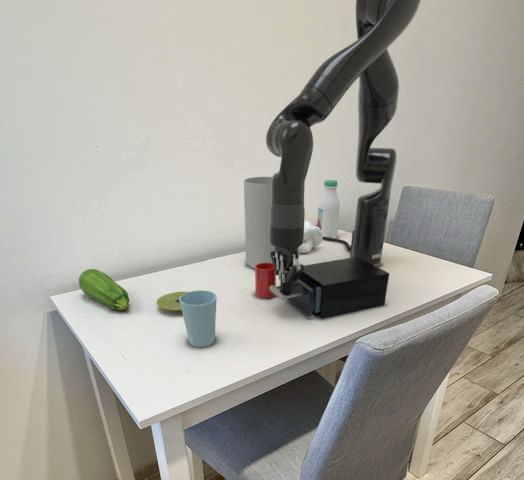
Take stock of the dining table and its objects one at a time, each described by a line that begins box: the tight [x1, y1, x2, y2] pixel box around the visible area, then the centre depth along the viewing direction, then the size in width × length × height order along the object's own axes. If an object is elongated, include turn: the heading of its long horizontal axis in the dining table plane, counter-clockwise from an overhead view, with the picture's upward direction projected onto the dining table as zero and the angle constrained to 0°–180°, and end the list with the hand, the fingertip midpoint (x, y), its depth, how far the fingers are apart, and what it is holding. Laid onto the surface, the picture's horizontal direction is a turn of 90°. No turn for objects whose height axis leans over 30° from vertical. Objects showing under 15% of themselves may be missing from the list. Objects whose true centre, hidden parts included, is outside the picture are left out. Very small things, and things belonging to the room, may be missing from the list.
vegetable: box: [78, 268, 130, 311], centre depth 108 cm, size 7×7×20 cm
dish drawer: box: [269, 273, 322, 318], centre depth 105 cm, size 23×12×7 cm, turn 114°
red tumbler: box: [254, 263, 277, 300], centre depth 112 cm, size 5×5×8 cm
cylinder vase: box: [243, 176, 275, 269], centre depth 128 cm, size 12×12×25 cm
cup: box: [179, 289, 218, 348], centre depth 90 cm, size 8×8×10 cm
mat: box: [156, 291, 188, 311], centre depth 107 cm, size 11×11×2 cm
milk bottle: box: [316, 179, 341, 239], centre depth 154 cm, size 8×8×20 cm
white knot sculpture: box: [298, 220, 323, 254], centre depth 143 cm, size 11×12×9 cm
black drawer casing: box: [302, 257, 390, 320], centre depth 107 cm, size 19×14×9 cm
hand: (285, 295), depth 101 cm, fingers closed
